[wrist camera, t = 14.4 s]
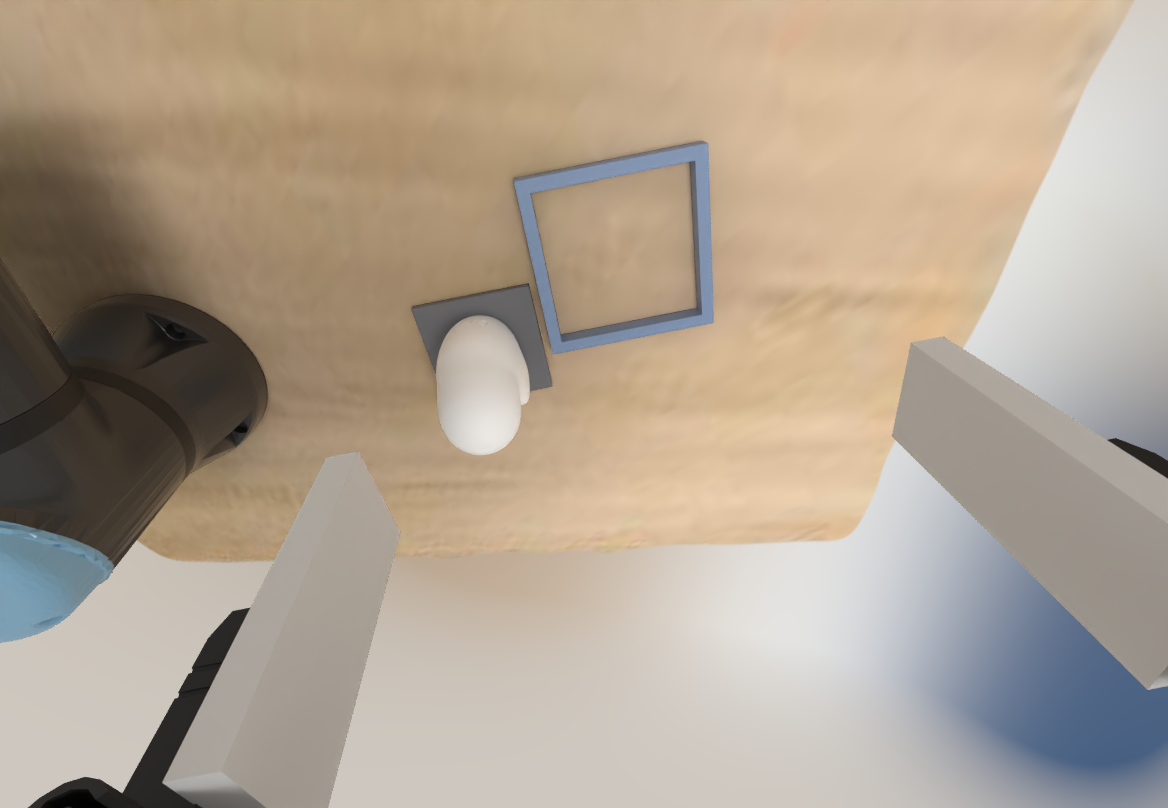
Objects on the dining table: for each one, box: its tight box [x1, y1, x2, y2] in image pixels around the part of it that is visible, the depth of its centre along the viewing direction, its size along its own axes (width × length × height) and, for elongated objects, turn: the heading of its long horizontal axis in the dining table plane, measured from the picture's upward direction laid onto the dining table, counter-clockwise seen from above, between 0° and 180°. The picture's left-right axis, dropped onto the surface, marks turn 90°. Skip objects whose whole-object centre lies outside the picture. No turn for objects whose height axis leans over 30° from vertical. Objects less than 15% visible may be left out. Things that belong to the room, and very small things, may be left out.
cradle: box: [514, 141, 714, 354], centre depth 43 cm, size 14×14×2 cm
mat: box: [411, 284, 552, 391], centre depth 46 cm, size 10×10×1 cm
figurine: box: [436, 315, 530, 455], centre depth 41 cm, size 7×8×12 cm
